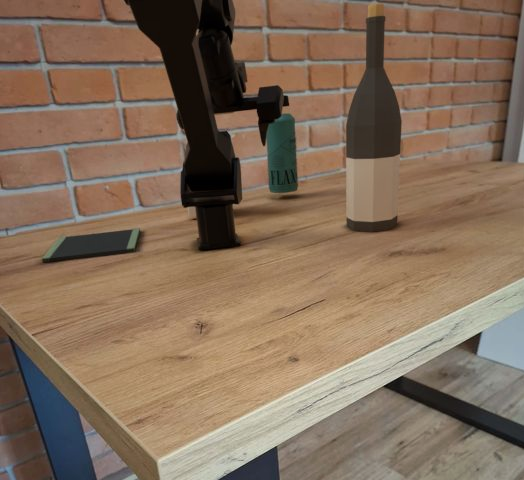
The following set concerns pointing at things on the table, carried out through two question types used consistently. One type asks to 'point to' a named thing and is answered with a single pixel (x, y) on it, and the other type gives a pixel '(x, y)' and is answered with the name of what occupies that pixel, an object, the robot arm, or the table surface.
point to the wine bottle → (373, 139)
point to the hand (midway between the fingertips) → (241, 146)
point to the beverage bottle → (282, 153)
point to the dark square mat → (93, 245)
